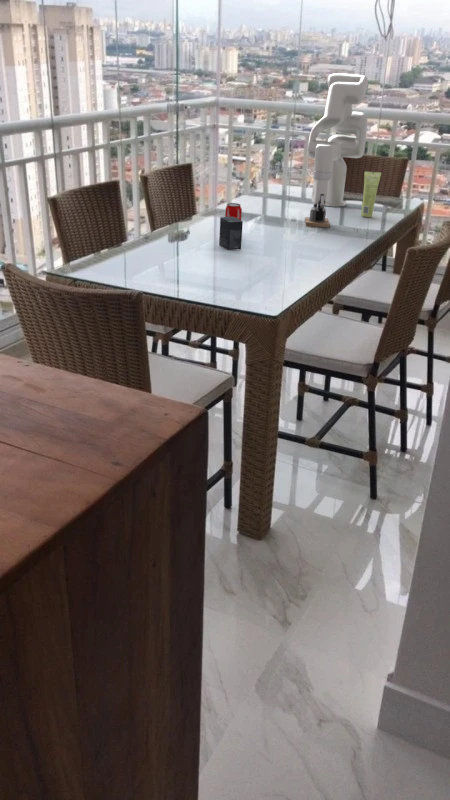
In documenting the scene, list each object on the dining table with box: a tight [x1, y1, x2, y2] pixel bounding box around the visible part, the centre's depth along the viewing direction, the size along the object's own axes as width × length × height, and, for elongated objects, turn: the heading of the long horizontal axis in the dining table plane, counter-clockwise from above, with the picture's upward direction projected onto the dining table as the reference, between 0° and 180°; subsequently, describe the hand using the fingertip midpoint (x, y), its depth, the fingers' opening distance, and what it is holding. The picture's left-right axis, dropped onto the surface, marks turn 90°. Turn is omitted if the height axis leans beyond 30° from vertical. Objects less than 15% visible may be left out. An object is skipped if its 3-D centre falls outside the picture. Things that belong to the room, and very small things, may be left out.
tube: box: [360, 170, 382, 218], centre depth 314 cm, size 6×5×20 cm
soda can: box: [224, 202, 243, 221], centre depth 274 cm, size 6×6×12 cm
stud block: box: [304, 216, 331, 228], centre depth 300 cm, size 10×10×5 cm
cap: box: [309, 206, 327, 222], centre depth 299 cm, size 6×6×5 cm
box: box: [218, 216, 243, 251], centre depth 259 cm, size 8×6×11 cm
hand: (317, 218), depth 300 cm, fingers closed on cap, 6 cm apart
